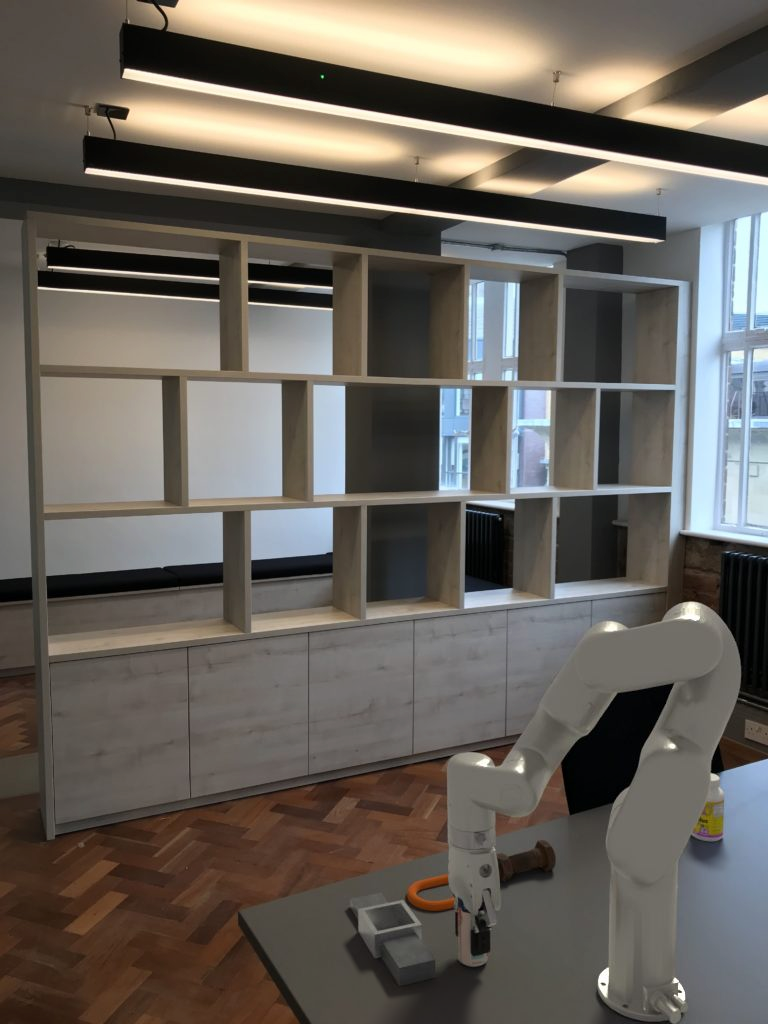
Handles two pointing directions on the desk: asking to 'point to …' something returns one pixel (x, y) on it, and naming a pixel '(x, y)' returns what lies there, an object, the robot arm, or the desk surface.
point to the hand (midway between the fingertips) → (472, 942)
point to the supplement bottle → (711, 814)
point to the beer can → (467, 937)
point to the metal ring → (424, 903)
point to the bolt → (527, 860)
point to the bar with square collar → (394, 937)
